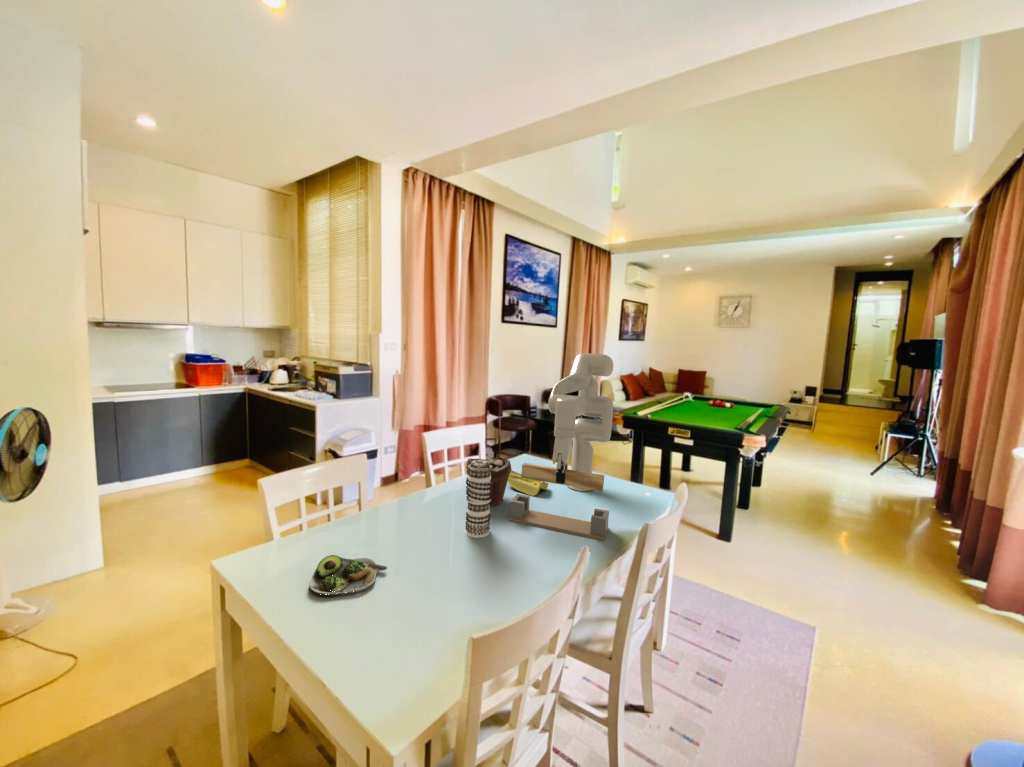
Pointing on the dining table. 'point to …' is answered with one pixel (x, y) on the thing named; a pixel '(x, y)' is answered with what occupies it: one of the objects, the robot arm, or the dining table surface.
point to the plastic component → (526, 484)
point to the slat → (571, 476)
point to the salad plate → (343, 575)
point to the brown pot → (496, 477)
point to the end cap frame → (559, 519)
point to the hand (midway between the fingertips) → (561, 480)
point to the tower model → (478, 499)
